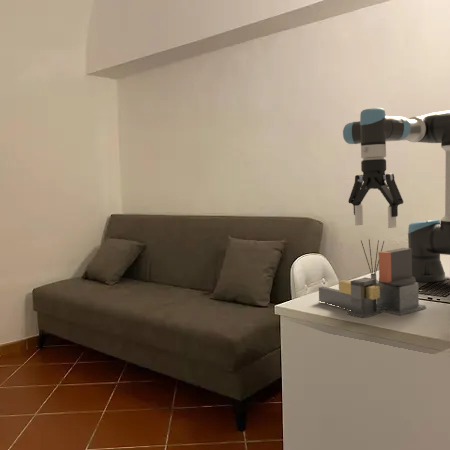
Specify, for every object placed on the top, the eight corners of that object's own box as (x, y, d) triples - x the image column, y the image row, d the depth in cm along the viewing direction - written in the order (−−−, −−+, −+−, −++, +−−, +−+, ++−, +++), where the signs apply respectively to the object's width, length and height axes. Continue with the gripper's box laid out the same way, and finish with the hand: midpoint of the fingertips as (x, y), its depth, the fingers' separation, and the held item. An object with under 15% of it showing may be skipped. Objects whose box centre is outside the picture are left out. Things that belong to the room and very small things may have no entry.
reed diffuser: (359, 295, 178) (357, 239, 176) (366, 291, 183) (365, 237, 182) (387, 298, 172) (386, 240, 170) (394, 294, 177) (393, 238, 176)
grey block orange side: (394, 277, 166) (393, 246, 165) (423, 282, 157) (422, 249, 156) (369, 282, 160) (368, 250, 159) (398, 288, 151) (397, 254, 150)
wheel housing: (394, 301, 168) (393, 277, 167) (425, 308, 158) (425, 282, 157) (369, 307, 161) (369, 282, 160) (400, 315, 151) (400, 288, 150)
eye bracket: (330, 299, 174) (329, 270, 173) (381, 312, 155) (380, 279, 154) (311, 304, 169) (310, 273, 168) (361, 318, 151) (360, 283, 150)
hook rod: (345, 290, 163) (345, 279, 163) (379, 297, 152) (379, 286, 151) (339, 291, 162) (338, 281, 161) (373, 299, 150) (372, 288, 150)
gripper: (336, 161, 166) (338, 225, 168) (397, 156, 144) (399, 229, 146) (352, 160, 169) (354, 223, 171) (414, 156, 148) (415, 227, 150)
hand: (375, 226), depth 159 cm, fingers open, 13 cm apart
